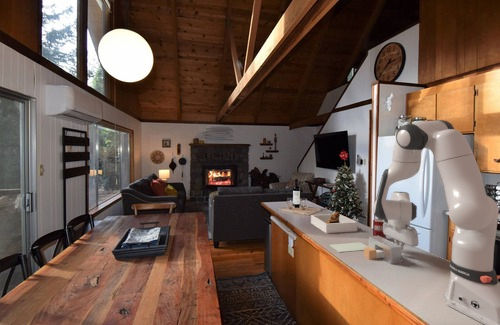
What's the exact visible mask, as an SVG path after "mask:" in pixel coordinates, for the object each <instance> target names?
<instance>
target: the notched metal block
mask: <svg viewBox="0 0 500 325" xmlns="http://www.w3.org/2000/svg"><path fill="white" fill-rule="evenodd" d="M368 247H372V248H373V249H375V250H380V249H383V258H382V260H383V261H385V262H386V263H388V264H390V265H392V264H393V265H394V264H401V263H402V251H403V250H402V247H401V246H399V245H397V244H395V242H393V241H391V240H388V239H387V238H386V239H385V238H382V237H380V236H373V235H370V236H368Z"/></svg>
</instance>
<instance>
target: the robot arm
mask: <svg viewBox="0 0 500 325" xmlns="http://www.w3.org/2000/svg"><path fill="white" fill-rule="evenodd" d="M424 149H428V150H429V151H431V152H432V154H433V157H434V160H435V163H436V166H437V169H438V172H439V174H440V177H441V180H442V184H443V187H444V188H443V189H444V194H445V195H444V196H445V200H446V205H447V207H448V216H449V219H450V221H451V222H452V223H453V225H455V227H454V231H453V236H452V238H451V239H452V241H451V242H452V244H451V258H450V259H449V270H450V274H449V280H448V284H447V287H446V290H445V293H443V295H444V296H443V297H444V299H445V300H446V302H445V304H446V305H447V307H449V308H452V309H454V310H456V311H457V312H458V313H459V312H460V313H462V314H464V315H465V316H467V317H469V318H471V319H473V320H475V321H477V322H479V323H481V324H483V325H500V283H499V282H500V281H499V279H500V275H497V274H496V273H497V272H496V270H495V269H494V258H495V256H494V253H495V243H496V238H497V236H496V235H497V228H498V219H499V206H498V204H497V202H496V201H495V200H494V199H493V198H491V197H490V196H488V195H487V192H486V189H485V186H484V185H485V184H484V181H483V175H482V173H481V170H480V167H479V165H478V163H477V162H478V161H477V160H476V158H475V155H474V152H473V150H472V147H471V146H470V144H469V143H468V140H467V139H466V137H465V136H464V135H463V133H462V132H461V131H460V130H458V129H455V126H453V124H452V123H451V122H449V121H447V120H442V119H435V120H427V121H426V120H422V121H417V122H413V123H407V124H405V125H403V126H401V127H399V128H398V129H397V131H396V135H395V142H394V146H393V150H392V161H391V164H390V166H389V167H388V168H385V169H384V171H383V173H382V176H381V179H380V183H379V186H378V191H377V194H376V198H375V201H374V204H373V207H372V211H373V215H374V216H375V217H376V219H380V220H383V222H384V223H383V233H384V234H385V235H386V237H389V238H392V239H394V243H395V244H397V245H399V246H401V247H402V251H403V250H404V246H405V245H407V246H410V247H411V248H412V247H413V248H415V247H418V246H419V244H420V243H419V235H418V231H417V229H416V228H415V227H413V226H411V222H412V221H414V220H415V219H416V218H417V214H418V212H417V210H418V208H417V207H418V206H417V205H416V204H415V203H414V202H413V201H411V199H410V198H411V197H410V193H408V192H406V191H393V192H392V193H391V197H390V199H387V197H388V194H389V191H390V190H389V189H390V187H391V186H393V184H396V183H397V182H401V181H404V180H408V179H411V178H412V177H415V176H416V174H418V173H419V171H420V168H421V163H422V152H423V150H424Z"/></svg>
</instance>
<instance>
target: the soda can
mask: <svg viewBox="0 0 500 325" xmlns="http://www.w3.org/2000/svg"><path fill="white" fill-rule="evenodd" d="M383 223H384V222H383V220H380V219H378V218H374V219H373V220H372V236H380V237H382V238H385V239H387V235H385V234H384V233H383Z"/></svg>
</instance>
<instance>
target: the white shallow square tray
mask: <svg viewBox="0 0 500 325" xmlns="http://www.w3.org/2000/svg"><path fill="white" fill-rule="evenodd" d="M331 214H332V213H329V214H328V213H327V214H311V215H310V224H312V225H313V226H314V227H316V228H318V229H319V230H321V231H322V232H324V234H336V233H347V232H349V233H350V232H358V226H359V224H358V222H357V221H356V220H354V219H352V218H350V217H347V216H344V214H343V215H342V214H340V213H339V214H340V217H339V223H332V224H326V223H325V222H327V221H328V220H329V218H330V217H331V216H332V215H331Z"/></svg>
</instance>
